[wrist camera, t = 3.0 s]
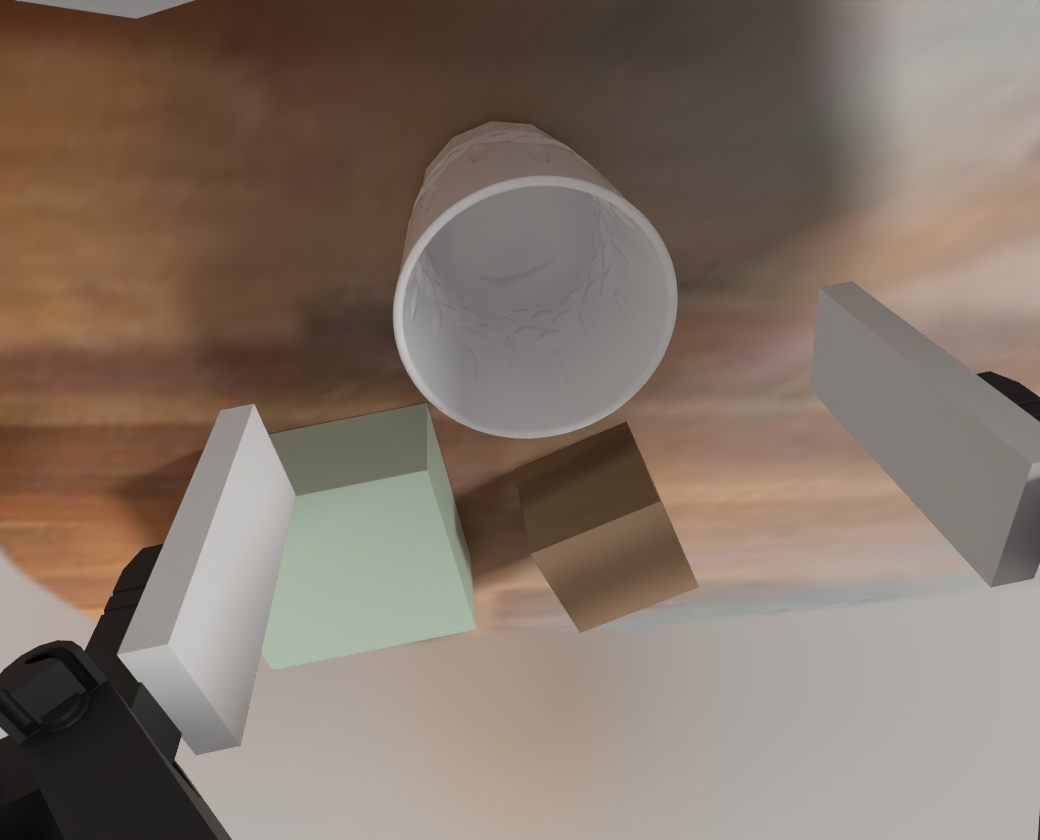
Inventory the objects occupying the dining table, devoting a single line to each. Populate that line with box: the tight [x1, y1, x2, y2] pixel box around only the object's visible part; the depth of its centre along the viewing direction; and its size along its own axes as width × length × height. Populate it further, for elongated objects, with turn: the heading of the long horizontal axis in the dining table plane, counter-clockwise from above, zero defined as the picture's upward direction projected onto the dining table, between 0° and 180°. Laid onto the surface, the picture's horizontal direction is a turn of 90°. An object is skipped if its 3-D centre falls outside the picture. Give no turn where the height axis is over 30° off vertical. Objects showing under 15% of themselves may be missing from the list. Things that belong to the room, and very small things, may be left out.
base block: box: [261, 403, 476, 670], centre depth 33 cm, size 10×10×5 cm
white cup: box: [393, 121, 678, 439], centre depth 23 cm, size 8×8×10 cm
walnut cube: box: [515, 422, 699, 633], centre depth 33 cm, size 6×6×6 cm
